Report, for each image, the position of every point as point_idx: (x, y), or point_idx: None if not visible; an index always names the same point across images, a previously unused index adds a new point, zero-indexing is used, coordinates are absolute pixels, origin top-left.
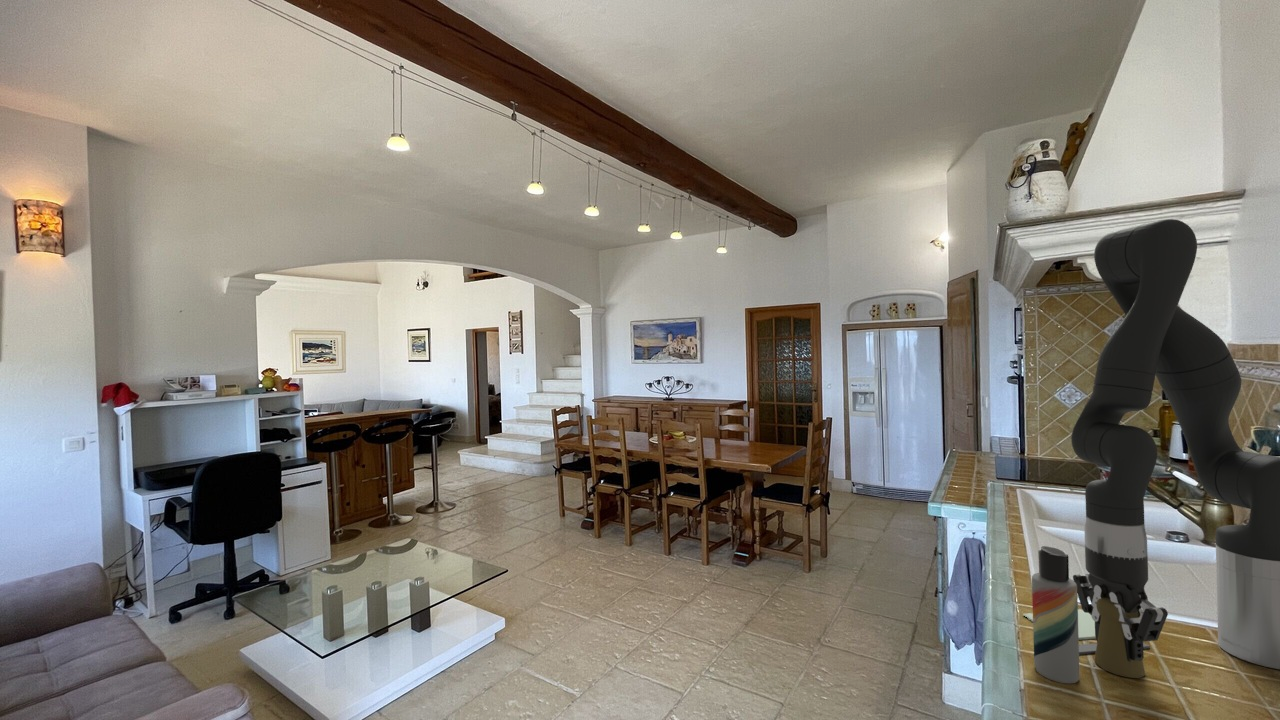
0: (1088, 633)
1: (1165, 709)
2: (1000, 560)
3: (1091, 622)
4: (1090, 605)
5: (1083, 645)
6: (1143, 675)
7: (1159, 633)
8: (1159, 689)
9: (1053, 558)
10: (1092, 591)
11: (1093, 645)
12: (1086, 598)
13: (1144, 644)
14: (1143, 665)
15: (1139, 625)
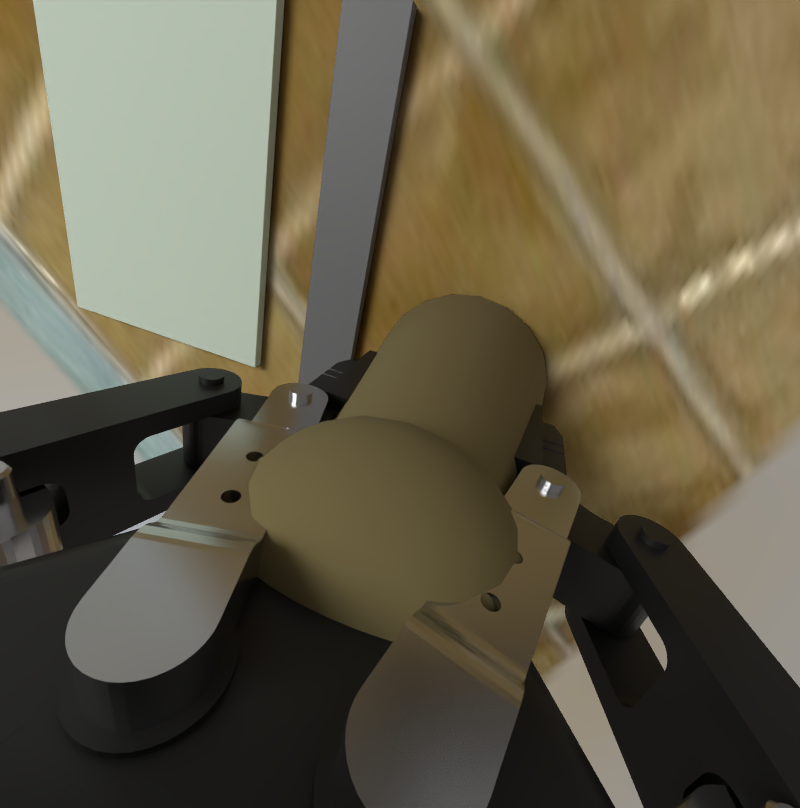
0: (239, 213)
1: (691, 534)
2: None
3: (154, 58)
4: (200, 456)
5: (309, 347)
6: (546, 374)
7: (726, 607)
8: (624, 413)
9: None
10: (84, 467)
11: (321, 311)
12: (152, 505)
13: (391, 17)
14: (538, 367)
15: (612, 721)
